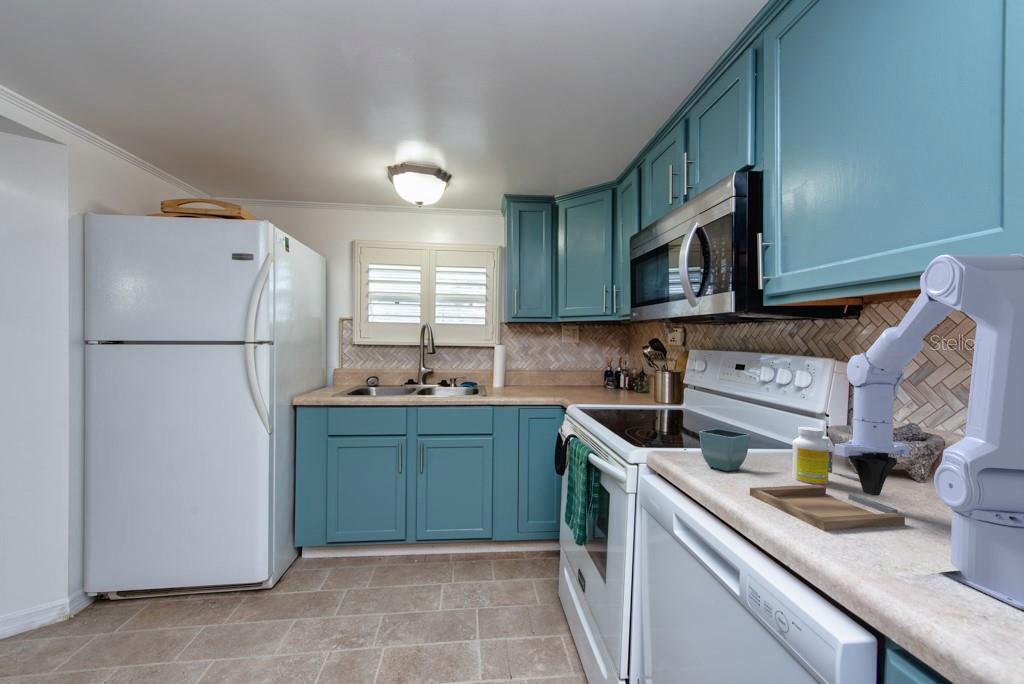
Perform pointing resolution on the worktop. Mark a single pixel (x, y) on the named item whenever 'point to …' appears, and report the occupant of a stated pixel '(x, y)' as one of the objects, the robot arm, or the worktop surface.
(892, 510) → the cover plate
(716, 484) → the worktop surface
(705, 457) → the flower pot
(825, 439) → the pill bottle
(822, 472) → the supplement bottle
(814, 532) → the worktop surface
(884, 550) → the worktop surface
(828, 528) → the wooden box
